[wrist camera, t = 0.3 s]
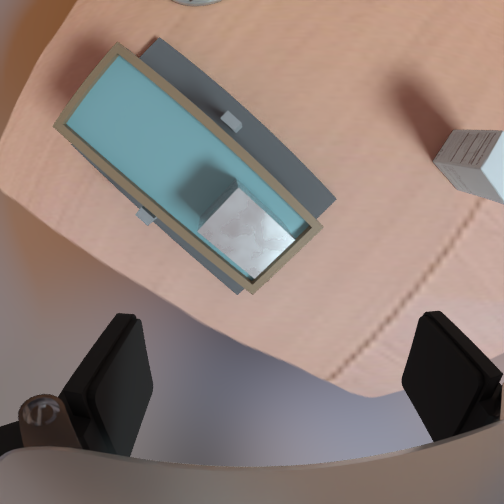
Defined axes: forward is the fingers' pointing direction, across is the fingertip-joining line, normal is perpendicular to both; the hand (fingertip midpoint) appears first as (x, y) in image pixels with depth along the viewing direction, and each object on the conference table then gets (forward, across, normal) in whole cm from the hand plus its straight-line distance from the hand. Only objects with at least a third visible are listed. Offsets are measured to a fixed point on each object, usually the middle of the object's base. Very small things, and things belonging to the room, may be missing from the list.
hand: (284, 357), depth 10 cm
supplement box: (+36, -32, -8) cm, 49 cm away
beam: (+29, +8, -5) cm, 30 cm away
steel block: (+28, +2, +1) cm, 28 cm away
